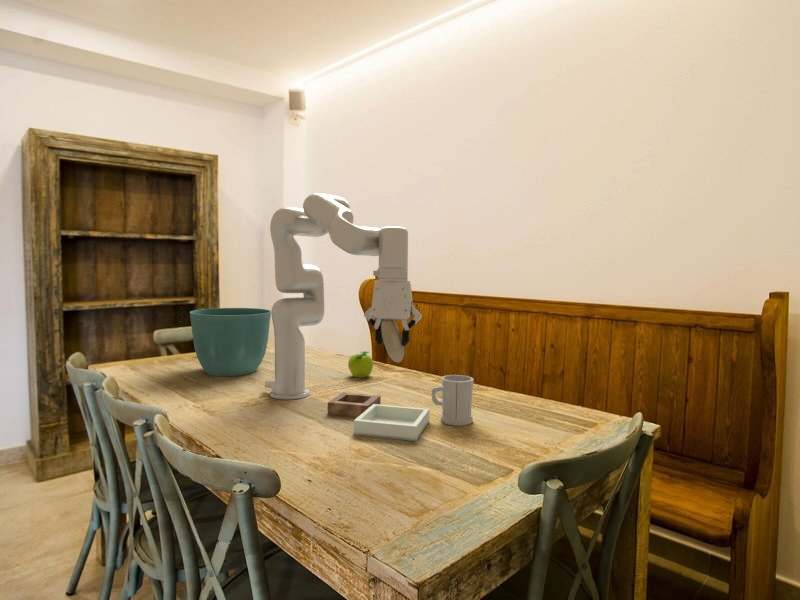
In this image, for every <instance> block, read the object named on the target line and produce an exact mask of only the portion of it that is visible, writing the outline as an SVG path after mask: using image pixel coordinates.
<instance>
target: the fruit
mask: <svg viewBox="0 0 800 600" xmlns="http://www.w3.org/2000/svg"><path fill="white" fill-rule="evenodd" d="M369 353H370V351H365V350H364V351H361V353H360V354H358V353H357V354H353V355H351V356H350V358H349V359H348V364H347V366H348V369H349V371H350V374H351V376H353V377H354V378H357V379H364V378H367V377H368V376H370V375H371V373H372V371H373V369H374V368H373V367H374V362H373V358H372V357H371V356H370V355H369Z"/></svg>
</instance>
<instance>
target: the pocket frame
mask: <svg viewBox="0 0 800 600" xmlns="http://www.w3.org/2000/svg"><path fill="white" fill-rule="evenodd" d="M381 398H382V397H381V395H379V394H367V393H356V392H355V393H353V392H342V393H340V394H338V395H337V396H335V397H334V398H331V400H329V401H328V402H327V415H329V416H331V415H332V416H341V417H350V418H357V417H358V416H360V415H361V414H362V413H363V412H365V411H366V410H367V409H368V408H369V407H371V406H372V405H373V404H379V405H382V404H381V400H382V399H381Z"/></svg>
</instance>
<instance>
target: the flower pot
mask: <svg viewBox="0 0 800 600" xmlns="http://www.w3.org/2000/svg"><path fill="white" fill-rule="evenodd" d="M271 311H272V310H270V309H266V308H265V309H264V308H251V307H250V308H249V307H219V308H218V307H217V308H202V309H195V310H191V311H189V318H190V324H191V325H190V326H191V334H192V339H193V341H192V342H193V346H194V351H195V355H196V358H197V359H198V362H199V364H200V366H201V368H202V369H203V370H204V371H205V373H206V374H208V375H210V376H213V377H214V376H217V377H237V375H238V376H244V374H245V375H248V374H253V373H255V372H256V371H257V370H258V369H259V367H260V365H261V364H262V362H263V361H264V358H265V355H266V352H267V347H268V342H269V334H270V323H271V317H272V313H271ZM254 371H255V372H254ZM252 372H253V373H252Z"/></svg>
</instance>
